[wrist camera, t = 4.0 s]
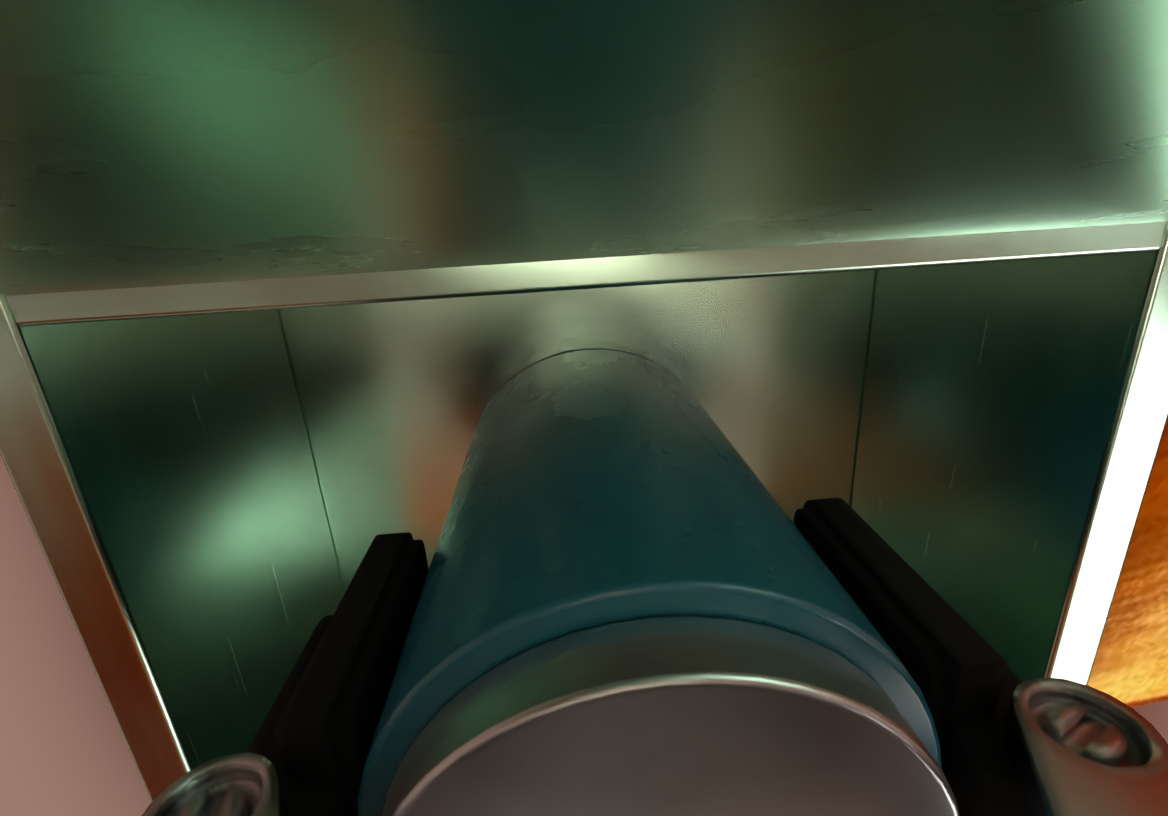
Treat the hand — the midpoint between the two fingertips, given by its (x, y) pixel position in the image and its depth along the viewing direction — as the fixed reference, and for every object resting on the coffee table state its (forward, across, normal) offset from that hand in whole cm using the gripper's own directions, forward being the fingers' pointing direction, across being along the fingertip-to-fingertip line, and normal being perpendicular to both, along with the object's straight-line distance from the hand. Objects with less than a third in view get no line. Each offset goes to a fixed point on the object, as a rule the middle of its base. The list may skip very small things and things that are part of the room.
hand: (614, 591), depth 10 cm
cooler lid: (-9, 0, -7) cm, 11 cm away
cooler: (+6, 0, 0) cm, 6 cm away
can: (+5, 0, 0) cm, 5 cm away
